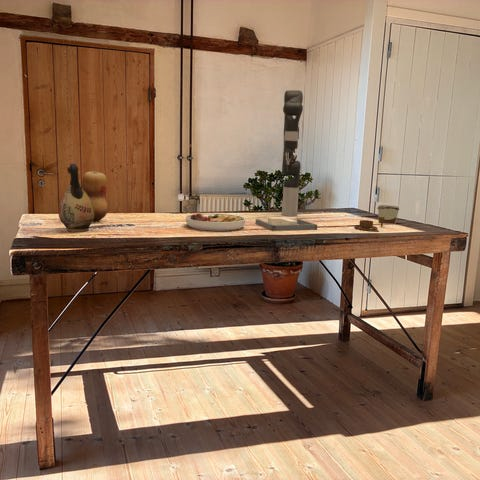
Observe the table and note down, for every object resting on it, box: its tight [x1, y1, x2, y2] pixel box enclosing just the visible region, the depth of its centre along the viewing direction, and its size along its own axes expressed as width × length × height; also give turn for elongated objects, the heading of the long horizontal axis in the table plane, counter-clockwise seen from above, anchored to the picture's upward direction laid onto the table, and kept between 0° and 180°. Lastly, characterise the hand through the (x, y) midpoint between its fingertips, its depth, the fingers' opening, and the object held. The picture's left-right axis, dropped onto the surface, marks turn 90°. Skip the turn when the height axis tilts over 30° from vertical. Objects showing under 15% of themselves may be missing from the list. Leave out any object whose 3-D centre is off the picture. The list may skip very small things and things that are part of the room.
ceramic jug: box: [57, 163, 95, 233], centre depth 213 cm, size 17×15×30 cm
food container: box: [377, 204, 400, 225], centre depth 277 cm, size 12×6×10 cm, turn 84°
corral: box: [255, 217, 318, 232], centre depth 249 cm, size 22×25×2 cm
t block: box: [267, 216, 298, 225], centre depth 249 cm, size 14×15×4 cm
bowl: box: [185, 212, 246, 232], centre depth 240 cm, size 30×30×8 cm
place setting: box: [354, 217, 385, 233], centre depth 252 cm, size 18×20×6 cm
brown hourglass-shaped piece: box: [81, 171, 109, 222], centre depth 240 cm, size 14×13×25 cm
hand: (289, 171), depth 268 cm, fingers closed
